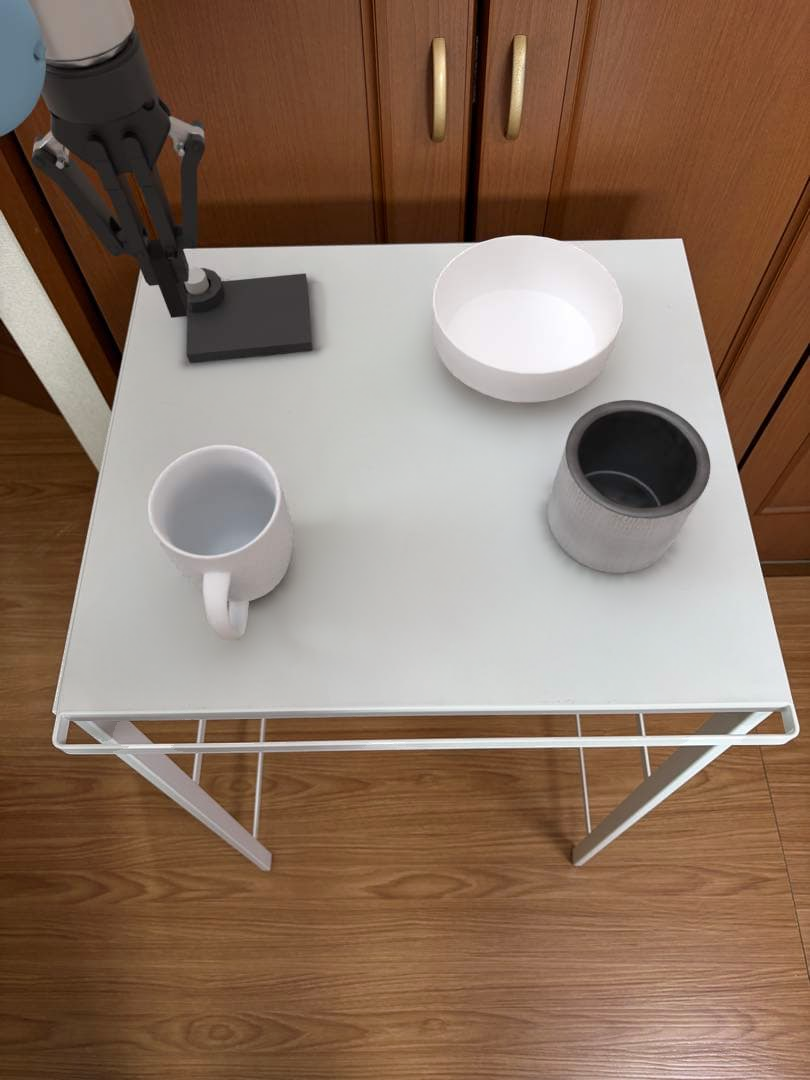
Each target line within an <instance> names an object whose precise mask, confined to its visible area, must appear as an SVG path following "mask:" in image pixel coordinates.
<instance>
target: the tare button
mask: <svg viewBox="0 0 810 1080" xmlns="http://www.w3.org/2000/svg"><path fill="white" fill-rule="evenodd" d="M200 268H201V267H191V268H189V278H188V282H184V283H185V286H186V289H187V291H188V292H189V293H190V294H193V295H198V294H202V293H204V292H206V291H207V290H208V288H209V283H208V280H207V277H206V274H205V272H204V271H203V270H202V269H200Z"/></svg>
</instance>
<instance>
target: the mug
mask: <svg viewBox="0 0 810 1080" xmlns="http://www.w3.org/2000/svg"><path fill="white" fill-rule="evenodd" d="M147 516H148V521H149V524H150V528H151V530H152V532H153V533H154V535H155V537H156V538H157V540H158V541H159V545H160V546H161V547H162V548H163V549H164V552H165V554H166V555H167V556H168V557H169V559H170V562H172V563H173V564H174V565H175V567H176V568H177V570H179V571H180V573H181V574H182V576H183V577H184V578H186V579H187V580H188V582H190V583H191V584H193V585H194V587H196V588H198V589H200V590H201V591H202V596H203V603H204V610H205V615H206V619H207V621H208V624H209V627H210V629H211V630H212V632H213V634H214V635H215V636H217V637H218V638H219V639H221V640H226V641H234V640H235V641H236V640H239V639H240V638H242V637H243V636H244V634H245V632H246V629H247V626H248V619H249V618H248V617H249V605H250V601H253V600H257V599H260V598H262V597H264V596H267V594H268V593H270V592H271V591H273V590H274V589H275V588H276V586H278V585H279V584H280V583H281V580H282V579H283V578H284V577H285V575H286V572H287V571H288V568H289V566H290V564H291V563H290V562H291V559H292V551H293V549H294V548H293V544H294V539H293V537H294V536H293V535H294V531H293V524H292V520H291V519H292V518H291V517H292V516H291V514H290V508H289V507H288V503H287V499H286V497H285V492H284V490H283V488H282V485H281V482H280V478H279V477H278V474H277V473H276V471H275V470H274V468H273V466H272V465H271V464H270V463H269V461H267V460H266V459H265V458H264V457H263V456H261V455H260V454H259V453H257V452H255V451H253V450H250V449H248V448H245V447H242V446H238V445H233V444H213V445H207V446H203V447H199V448H196V449H193V450H191V451H189V452H186V453H184V454H182V455H181V456H179V457H177V458H176V459H174V460H173V461H172V462H171V463H169V465H167V466H166V467H165V468H164V469H163V471H162V472H161V473H160V474H159V475H158V477H157V478H156V479H155V482H154V484H153V486H152V488H151V489H150V493H149V496H148V500H147Z"/></svg>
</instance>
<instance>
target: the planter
mask: <svg viewBox="0 0 810 1080" xmlns="http://www.w3.org/2000/svg"><path fill="white" fill-rule="evenodd" d="M708 450H709V449H708V447H707V445H706V443H705V441H704V439H703V438H702V436H701V434H700V433H699V432H698V430H696V428H695V427H694V426H693V425H692V424H691V423H690V422H688V420H686V418H684V417H682V416H681V415H679V414H678V413H677V412H675V411H673V410H671V409H669V408H667V407H664V406H662V405H660V404H657V403H654V402H649V401H645V400H636V399H620V400H613V401H609V402H605V403H602V404H599V405H597V406H595V407H592V408H591V409H589V410H588V411H587V412H585V413H584V414H582V415H581V416H580V417H579V418H578V419H577V420H576V422H575V423H574V424H573V426H572V427H571V429H570V431H569V433H568V436H567V438H566V440H565V444H564V449H563V452H562V455H561V458H560V461H559V464H558V468H557V470H556V474H555V476H554V480H553V483H552V486H551V489H550V491H549V495H548V500H547V513H546V514H547V515H546V516H547V522H548V525H549V528H550V531H551V534H552V536H553V538H554V540H556V542H557V544H558V545H559V546H560V547H561V549H562V550H563V551H564V552H565V553H566V554H567V555H569V556H570V557H571V558H572V559H574V560H575V561H577V562H578V563H580V564H581V565H584V566H586V567H589V568H590V569H594V570H597V571H600V572H604V573H605V572H606V573H612V574H613V573H614V574H624V573H625V574H626V573H632V572H637V571H640V570H643V569H645V568H647V567H650V566H651V565H653V564H655V563H656V562H658V560H660V559H661V558H662V557H663V556H664V555H665V554H666V553H667V552H668V550H669V549H670V548H671V546H672V544H673V543H674V542H675V540H676V538H677V537H678V535H679V533H680V531H681V529H682V528H683V526H684V525H685V523H686V521H687V519H688V518H689V516H690V515H691V512H693V510H694V508H695V506H696V504H697V503H698V501H699V499H700V498H701V497H702V495H703V493H704V492H705V490H706V488H707V486H708V483H709V480H710V475H711V457H710V454H709V451H708Z"/></svg>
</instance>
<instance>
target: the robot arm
mask: <svg viewBox="0 0 810 1080" xmlns="http://www.w3.org/2000/svg"><path fill="white" fill-rule="evenodd" d="M41 96H42V99H43V100H44V103H45V105H46V108H47V109H48V111H49V115H50V123H49V129H50V130H49V131H48V133H47V134H37V135H36V136H35V138H34V141H33V142H34V143H33V149H32V155H31V163H32V165H33V166H34V168H36V169H37V170H38V171H40V172H41V173H42V174H43V175H45V176H46V177H48V178H49V179H50V180H52V181H53V182H54V183H55V184H56V185H57V186H58V187H59V189H60V190H61V192H63V194H64V195H65V196H66V198H67V199H68V201H69V202H70V203H71V204H72V206H73V207H74V208H75V210H76V211H77V212H78V214H79V215H80V216H81V217H82V219H83V220H84V221H85V222H86V224H87V225H88V226H89V228H90V229H91V231H92V232H93V233H94V234H95V235H96V237H97V238H98V239H99V241H100V242H101V243H102V245H103V246H104V248H105V249H106V250H107V251H108V253H109V254H111V255H112V256H113V257H122V256H123V255H129V256H132V257H133V258H134V259H135V260H136V262H137V264H138V267H139V270H140V271H141V275H142V277H143V279H144V281H145V283H146V284H147V285H148V286H149V287H152V286H158V288H159V290H160V293H161V295H162V298H163V300H164V303H165V306H166V308H167V310H168V311H167V312H168V313H169V317H170V318H171V319H173V318H174V319H175V318H184V317H187V316H188V311H187V293H186V290H185V287H184V284H183V282H188V278H189V269H190V265H189V261H188V259H187V256H186V254H185V249H186V248H187V249H195V248H197V247H198V244H199V232H198V231H199V217H198V216H199V215H198V214H199V213H198V211H199V210H198V209H199V208H198V168H199V165H200V162H201V160H202V158H203V155H204V153H205V151H206V132H205V131H206V130H205V125H204V123H203V122H202V121H200V120H197V119H194V120H193V119H192V120H191V121H190V122H185V121H183V120H181V119H179V118H176V117H175V116H172V114H171V111H170V110H171V109H170V108H169V106H168V105H167V104H166V103H165V101H164V100H163V99H162V98H161V97H160V95H159V93H158V91H157V88H156V85H155V82H154V79H153V75H152V72H151V68H150V65H149V62H148V58H147V56H146V52H145V48H144V46H143V42H142V39H141V36H140V32H139V31H138V30H137V29H136V27H135V15H134V12H133V8H132V5H131V2H130V0H0V137H2V136H5V135H7V134H9V133H10V132H12V131H13V130H15V129H16V128H18V127H19V126H20V125H21V124H22V123H23V122H24V121H25V120H26V119H27V118H28V117H29V116H30V115H31V113H32V111H33V110H34V108H35V107H36V106H37V103H38V101H39V99H40V97H41ZM168 137H170V139H171V140H172V143H173V146H172V148H173V150H174V152H175V153H176V154H177V155H178V157H180V195H181V224H179V225H177V223H176V220H175V216H174V214H173V210H172V208H171V204H170V201H169V198H168V195H167V192H166V190H165V187H164V184H163V180H162V178H161V174H160V171H159V169H158V164H157V161H158V160H159V158H160V155H161V153H162V151H163V148H164V145H165V143H166V141H167V138H168ZM71 153H72V154H73V155H75V156H76V157H77V158H79V159H80V160H81V161H82V162H84V163H85V164H87V165H88V166H89V167H91V168H92V169H93V170H94V171H96V173H97V175H98V178H99V180H100V183H101V185H102V187H103V190H104V191H106V192H107V194H108V197H109V199H110V202H111V205H112V207H113V210H114V212H115V215H116V216H115V215H114V214H113V212H112V211H111V209H110V208H109V206H108V205H107V204H106V202H105V201H104V199H103V198H102V197H101V196H100V194H99V192H98V191H97V190H96V188H95V187H94V185H93V184H92V183H91V181H90V180H89V178H88V177H87V176H86V173H84V171H83V170H82V169H81V167H80V166H79V164H78V163H77V162H76V161H75V159H74V158H73V157H72V156H71ZM127 173H130V174H133V175H134V178H135V181H136V184H137V186H138V188H140V190H141V193H142V196H143V198H144V201H145V204H146V207H147V209H148V212H149V215H150V218H151V221H152V224H153V226H154V228H155V231H156V234H157V237H158V238H157V239H156V238H155V239H149V234H150V233H149V232H150V231H149V228H147V227H146V225H145V222H144V220H143V217H142V214H141V212H140V209H139V206H138V203H137V201H136V198H135V195H134V193H133V189H132V187H131V184H130V182H129V179H128V176H127Z"/></svg>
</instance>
